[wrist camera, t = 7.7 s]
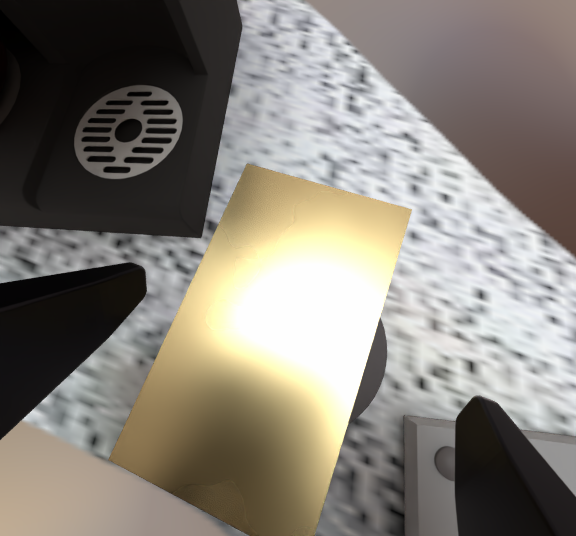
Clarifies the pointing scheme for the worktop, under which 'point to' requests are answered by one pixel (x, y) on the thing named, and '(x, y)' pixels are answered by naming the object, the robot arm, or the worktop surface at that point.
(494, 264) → the worktop surface
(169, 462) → the t key
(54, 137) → the coffee maker
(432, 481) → the slot plate
